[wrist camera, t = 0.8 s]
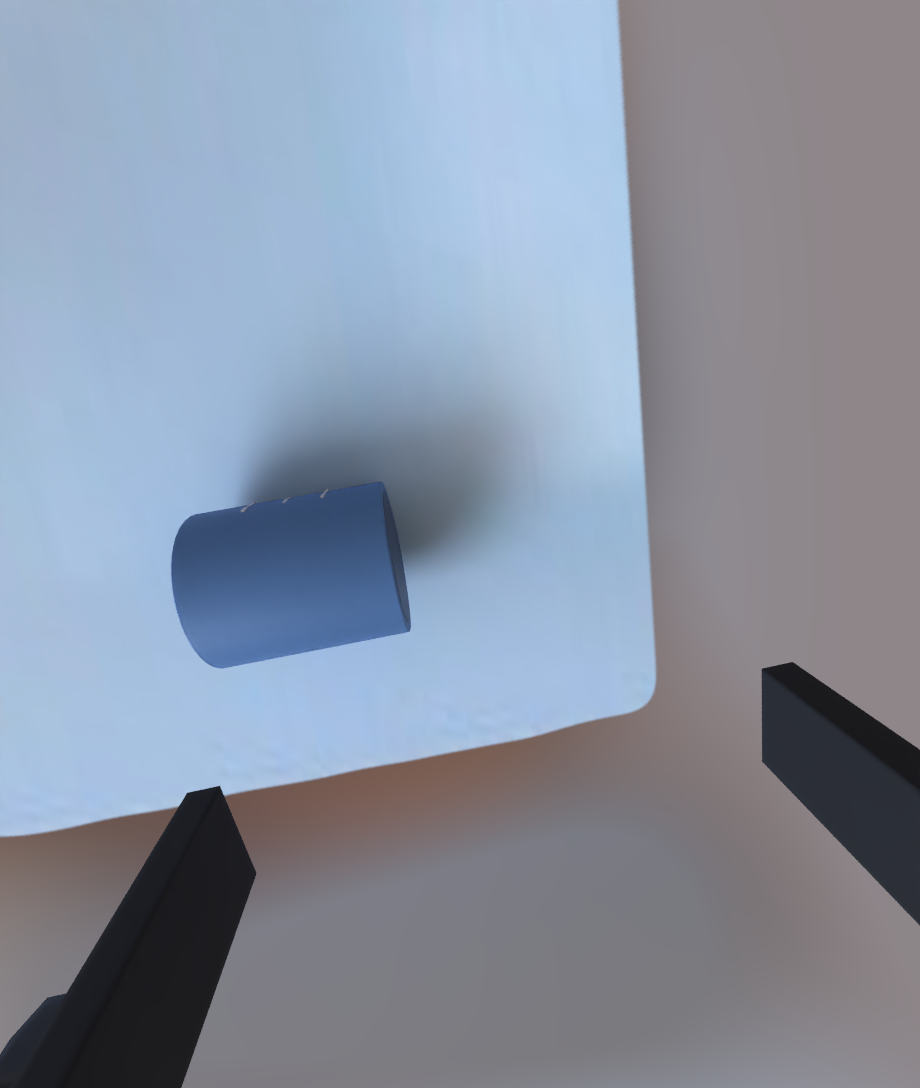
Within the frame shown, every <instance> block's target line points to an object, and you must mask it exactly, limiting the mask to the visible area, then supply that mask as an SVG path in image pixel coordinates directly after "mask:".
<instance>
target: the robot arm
mask: <svg viewBox="0 0 920 1088" xmlns="http://www.w3.org/2000/svg"><path fill="white" fill-rule="evenodd" d="M762 762H763V763H764V764H765V765H766V766H767V767H768V768H769V769H770V770H771V771H772V772H773V773H774V774H775V775H776V776H777V777H778V778H779V779H780V781H781V782H783V784H784V785H785V786H786V787H787V788H788V789H789V790H790V791H791V792H792V793H793V794H794V795H795V796H796V797H797V798H798V799H799V800H800V801H801V802H802V803H803V804H804V805H805V806H806V808H807V809H808V810H809V811H810V812H811V813H812V814H813V815H814V816H815V817H816V818H817V819H818V820H819V821H820V822H821V823H822V824H823V825H824V826H825V827H826V828H827V829H828V830H829V831H830V833H831V834H833V836H834V837H835V838H836V839H837V840H838V841H839V842H840V843H841V844H842V845H843V846H844V847H845V848H846V849H847V850H848V851H849V852H850V853H851V854H852V855H853V856H854V857H855V859H856V860H858V862H859V863H860V864H861V865H862V866H863V867H864V868H865V869H866V870H867V871H868V872H869V873H870V874H871V875H872V876H873V877H874V878H875V879H876V880H877V881H878V882H879V883H880V885H881V886H882V887H883V888H884V889H886V891H887V892H888V893H889V894H890V895H891V896H892V897H893V898H894V899H895V900H896V901H897V902H898V903H899V904H900V905H901V906H902V907H903V908H904V909H905V911H907V913H908V914H910V916H911V917H912V918H913V919H914V920H915V921H916V922H917V923H918V924H919V925H920V750H919V749H918V748H917V747H915V746H914V745H912V744H911V743H909V742H908V741H906V740H905V739H903V738H902V737H901V736H899V735H897V734H896V733H895V732H893V731H892V730H890V729H889V728H887V727H886V726H885V725H883V724H882V723H880V722H879V721H877V720H876V719H874V718H873V717H872V716H870V715H869V714H867V713H865V712H864V711H863V710H861V709H860V708H858V707H857V706H855V705H854V704H853V703H851V702H850V701H848V700H847V699H845V698H844V697H842V696H841V695H839V694H838V693H836V692H835V691H834V690H832V689H831V688H829V687H828V686H826V685H825V684H824V683H822V682H821V681H819V680H818V679H816V678H815V677H813V676H812V675H810V674H809V673H808V672H806V671H805V670H803V669H802V668H800V667H799V666H797V665H796V664H795V663H793V662H791V663H786V664H782V665H777V666H772V667H768V668H763V669H762ZM255 876H256V871H255V869H254V866H253V864H252V862H251V859H250V857H249V855H248V852H247V850H246V848H245V845H244V843H243V840H242V838H241V835H240V833H239V831H238V828H237V826H236V824H235V821H234V819H233V816H232V814H231V812H230V809H229V807H228V804H227V802H226V800H225V797H224V795H223V793H222V790H221V788H220V786H217V787H213V788H208V789H204V790H199V791H194V792H190V793H187V794H186V796H185V798H184V799H183V801H182V803H181V804H180V806H179V808H178V809H177V811H176V813H175V814H174V816H173V818H172V819H171V821H170V822H169V824H168V826H167V828H166V829H165V831H164V832H163V834H162V836H161V837H160V839H159V841H158V842H157V844H156V846H155V847H154V849H153V851H152V852H151V854H150V856H149V857H148V859H147V861H146V862H145V864H144V866H143V867H142V869H141V871H140V872H139V874H138V876H137V877H136V879H135V881H134V882H133V884H132V885H131V887H130V889H129V890H128V892H127V894H126V895H125V897H124V899H123V901H122V902H121V904H120V905H119V907H118V909H117V910H116V912H115V914H114V915H113V917H112V919H111V921H110V922H109V924H108V925H107V927H106V929H105V930H104V932H103V934H102V935H101V937H100V939H99V940H98V942H97V944H96V945H95V947H94V949H93V950H92V952H91V954H90V955H89V957H88V959H87V960H86V962H85V964H84V965H83V967H82V969H81V970H80V972H79V974H78V975H77V977H76V979H75V980H74V982H73V984H72V985H71V987H70V988H69V990H68V992H67V993H66V994H62V995H57V996H53V997H49V998H47V999H46V1000H45V1001H44V1002H43V1003H42V1004H41V1006H40V1007H39V1008H38V1009H37V1010H36V1011H35V1012H34V1013H33V1014H32V1015H31V1017H30V1018H29V1019H28V1020H27V1021H26V1022H25V1023H24V1024H23V1025H22V1027H21V1028H20V1029H19V1030H18V1031H17V1032H16V1033H15V1034H14V1035H13V1037H12V1038H11V1039H10V1040H9V1042H8V1043H7V1045H6V1047H5V1048H4V1049H3V1051H2V1052H1V1054H0V1088H181V1087H182V1084H183V1081H184V1078H185V1075H186V1072H187V1070H188V1067H189V1064H190V1061H191V1058H192V1055H193V1053H194V1050H195V1047H196V1044H197V1041H198V1038H199V1035H200V1033H201V1030H202V1027H203V1024H204V1021H205V1018H206V1016H207V1013H208V1010H209V1007H210V1004H211V1001H212V999H213V996H214V992H215V990H216V987H217V984H218V981H219V979H220V976H221V973H222V970H223V967H224V964H225V961H226V959H227V956H228V953H229V950H230V947H231V944H232V941H233V939H234V936H235V932H236V930H237V927H238V924H239V922H240V919H241V916H242V913H243V910H244V907H245V904H246V902H247V899H248V896H249V893H250V890H251V887H252V885H253V882H254V879H255Z"/></svg>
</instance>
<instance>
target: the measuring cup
mask: <svg viewBox="0 0 920 1088" xmlns="http://www.w3.org/2000/svg"><path fill="white" fill-rule="evenodd" d="M171 578H172V589H173V595H174V601H175V605H176V609H177V613H178V616H179V619H180V622H181V625H182V628H183V630H184V632H185V635H186V637H187V639H188V640H189V642H190V644H191V646H192V647H193V649H194V650H195V652H196V653H197V654H198V655H199V656H200V658H202V659H203V660H204V661H205V662H206V663H208V664H209V665H211V666H213V667H216V668H227V667H232V666H237V665H242V664H247V663H252V662H257V661H263V660H268V659H273V658H278V657H283V656H288V655H293V654H298V653H303V652H308V651H314V650H319V649H324V648H329V647H334V646H339V645H344V644H349V643H354V642H360V641H365V640H370V639H375V638H380V637H385V636H390V635H395V634H400V633H405V632H409V631H410V628H411V621H410V609H409V600H408V593H407V586H406V579H405V573H404V567H403V562H402V556H401V551H400V546H399V541H398V536H397V531H396V527H395V522H394V518H393V513H392V509H391V505H390V502H389V498H388V495H387V492H386V489H385V486H384V484H383V483H382V482H378V483H372V484H366V485H361V486H355V487H349V488H343V489H338V490H332V491H329V489H326V490H325V491H324V492H321V493H315V494H309V495H304V496H298V497H292V498H291V496H290V497H288V498H286V499H281V500H275V501H270V502H264V503H258V504H256V503H255V502H252V503H251V504H249V505H247V506H241V507H235V508H230V509H224V510H218V511H213V512H207V513H201V514H196V515H193V516H191V517H189V518H188V519H187V520H185V522H184V523H183V524H182V525H181V527H180V529H179V530H178V533H177V536H176V538H175V542H174V546H173V552H172V563H171Z"/></svg>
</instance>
